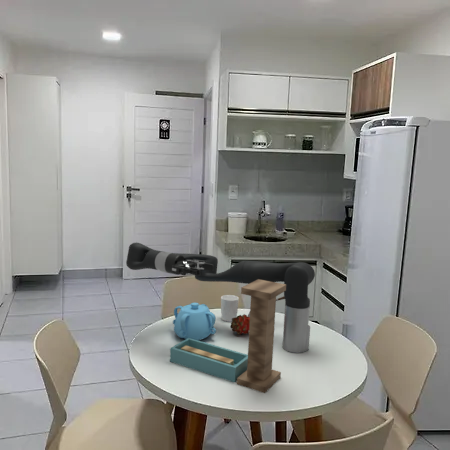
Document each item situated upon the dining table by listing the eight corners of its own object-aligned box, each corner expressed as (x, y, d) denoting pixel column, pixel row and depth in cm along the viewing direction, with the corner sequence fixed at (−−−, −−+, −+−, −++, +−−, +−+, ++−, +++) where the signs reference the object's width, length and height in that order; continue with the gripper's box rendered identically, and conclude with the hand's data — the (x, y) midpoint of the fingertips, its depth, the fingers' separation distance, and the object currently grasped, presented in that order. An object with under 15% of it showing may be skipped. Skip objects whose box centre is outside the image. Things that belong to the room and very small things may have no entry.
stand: (236, 384, 144) (241, 287, 139) (253, 369, 154) (258, 279, 149) (264, 393, 139) (270, 293, 134) (280, 377, 149) (286, 284, 145)
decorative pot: (217, 343, 175) (219, 309, 173) (176, 345, 172) (177, 311, 170) (209, 327, 191) (211, 296, 189) (171, 329, 187) (172, 297, 185)
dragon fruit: (233, 341, 181) (244, 335, 192) (250, 332, 178) (260, 327, 189) (223, 322, 183) (234, 317, 194) (240, 313, 180) (250, 308, 191)
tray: (170, 361, 158) (170, 348, 157) (188, 350, 167) (188, 337, 166) (234, 382, 145) (235, 367, 144) (250, 369, 154) (251, 355, 154)
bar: (180, 356, 160) (180, 348, 160) (185, 353, 163) (185, 345, 162) (229, 371, 150) (229, 363, 150) (233, 368, 153) (233, 359, 152)
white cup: (218, 321, 198) (219, 299, 197) (221, 315, 206) (222, 294, 204) (236, 323, 197) (237, 301, 195) (238, 316, 205) (239, 295, 203)
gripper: (158, 256, 160) (195, 263, 152) (181, 250, 172) (217, 256, 164) (157, 276, 161) (195, 284, 153) (181, 269, 174) (217, 276, 165)
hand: (206, 270), depth 159 cm, fingers open, 8 cm apart
